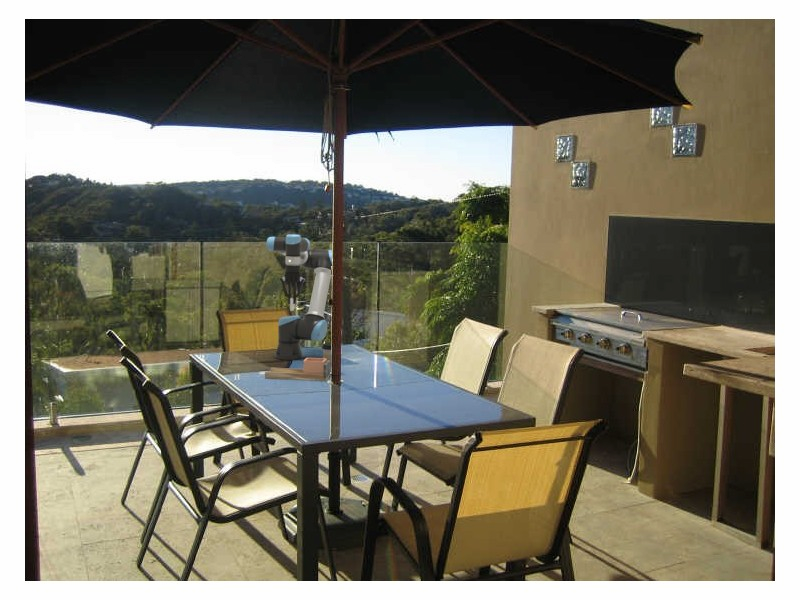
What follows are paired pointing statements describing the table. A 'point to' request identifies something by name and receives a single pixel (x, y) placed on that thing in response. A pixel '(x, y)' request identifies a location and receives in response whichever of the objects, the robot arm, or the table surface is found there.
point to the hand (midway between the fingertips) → (292, 310)
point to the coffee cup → (327, 352)
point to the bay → (298, 374)
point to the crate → (314, 365)
